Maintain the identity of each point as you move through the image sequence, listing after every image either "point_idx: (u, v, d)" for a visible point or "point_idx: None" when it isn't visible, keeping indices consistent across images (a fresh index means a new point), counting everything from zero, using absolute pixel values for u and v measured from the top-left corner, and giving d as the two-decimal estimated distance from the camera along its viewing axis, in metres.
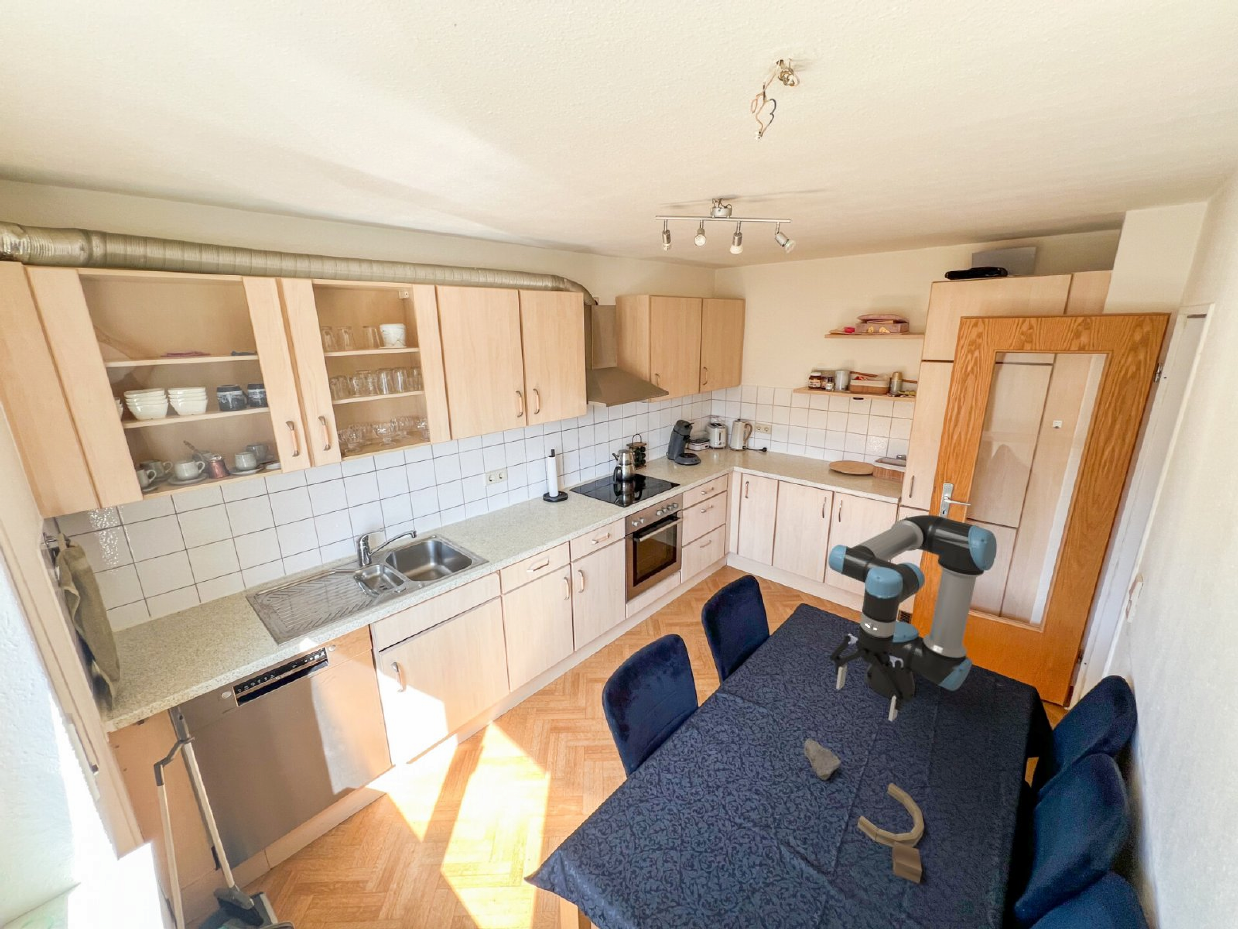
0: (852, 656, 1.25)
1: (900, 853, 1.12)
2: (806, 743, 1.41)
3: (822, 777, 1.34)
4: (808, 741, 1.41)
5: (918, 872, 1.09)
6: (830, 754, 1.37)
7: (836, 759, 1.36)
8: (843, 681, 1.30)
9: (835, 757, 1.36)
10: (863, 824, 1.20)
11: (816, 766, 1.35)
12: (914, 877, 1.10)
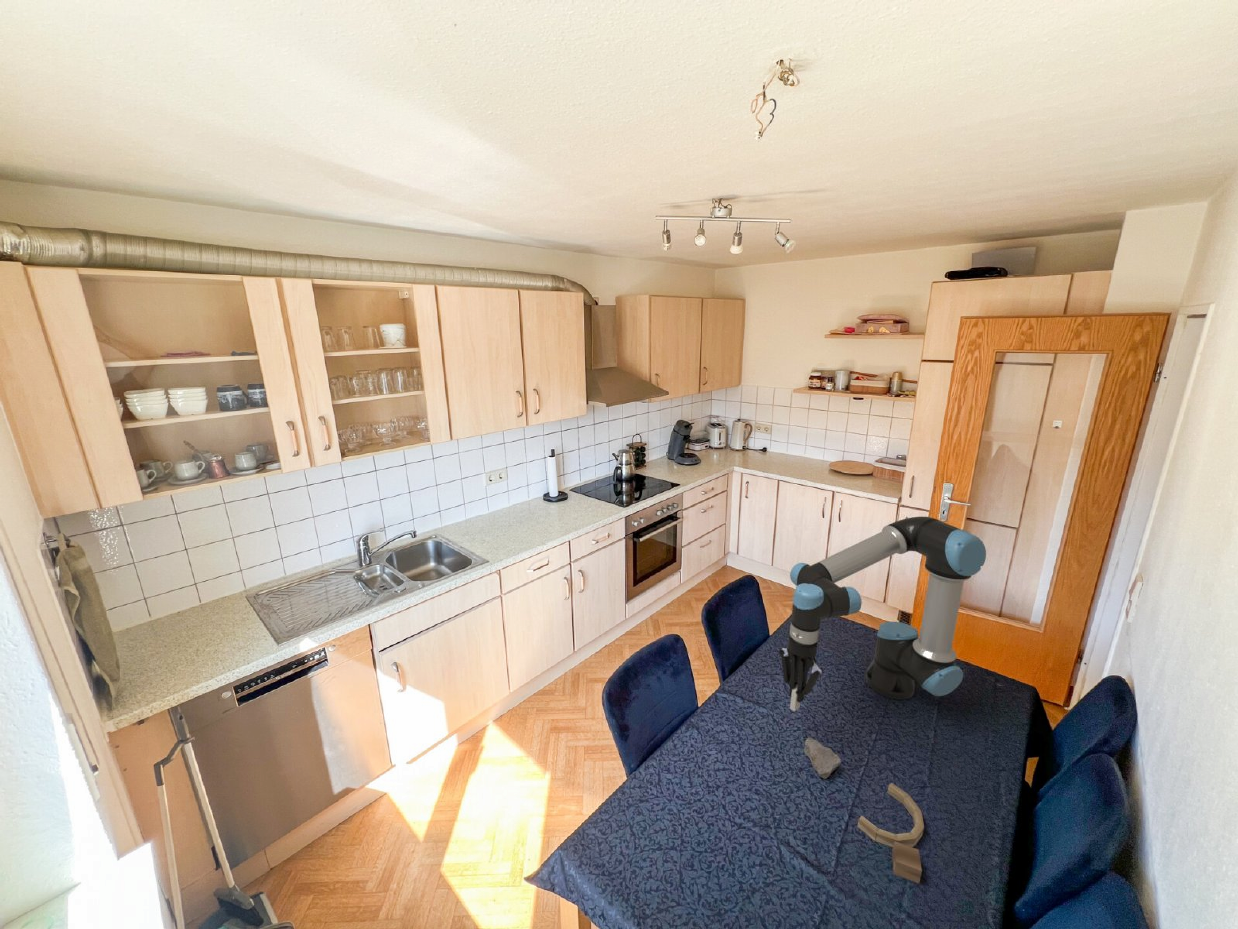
0: (792, 669, 1.40)
1: (900, 853, 1.12)
2: (806, 742, 1.42)
3: (823, 776, 1.35)
4: (808, 740, 1.42)
5: (918, 872, 1.09)
6: (830, 753, 1.38)
7: (836, 758, 1.36)
8: None
9: (835, 756, 1.37)
10: (863, 824, 1.20)
11: (817, 765, 1.36)
12: (914, 877, 1.10)
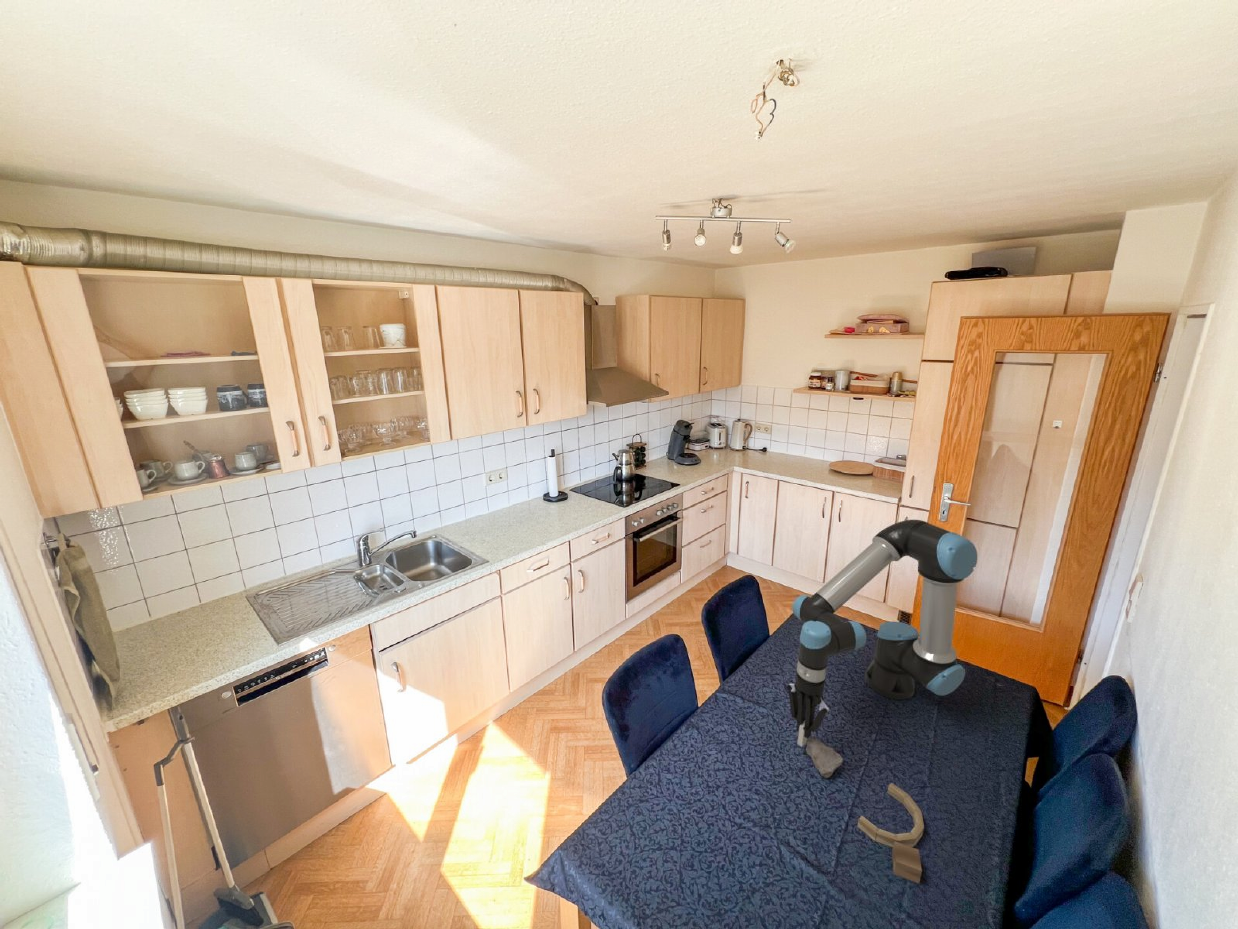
0: (799, 705, 1.40)
1: (900, 853, 1.12)
2: (808, 741, 1.42)
3: (825, 775, 1.35)
4: (810, 739, 1.42)
5: (918, 872, 1.09)
6: (832, 752, 1.38)
7: (838, 757, 1.36)
8: None
9: (837, 755, 1.37)
10: (863, 824, 1.20)
11: (819, 764, 1.36)
12: (914, 877, 1.10)
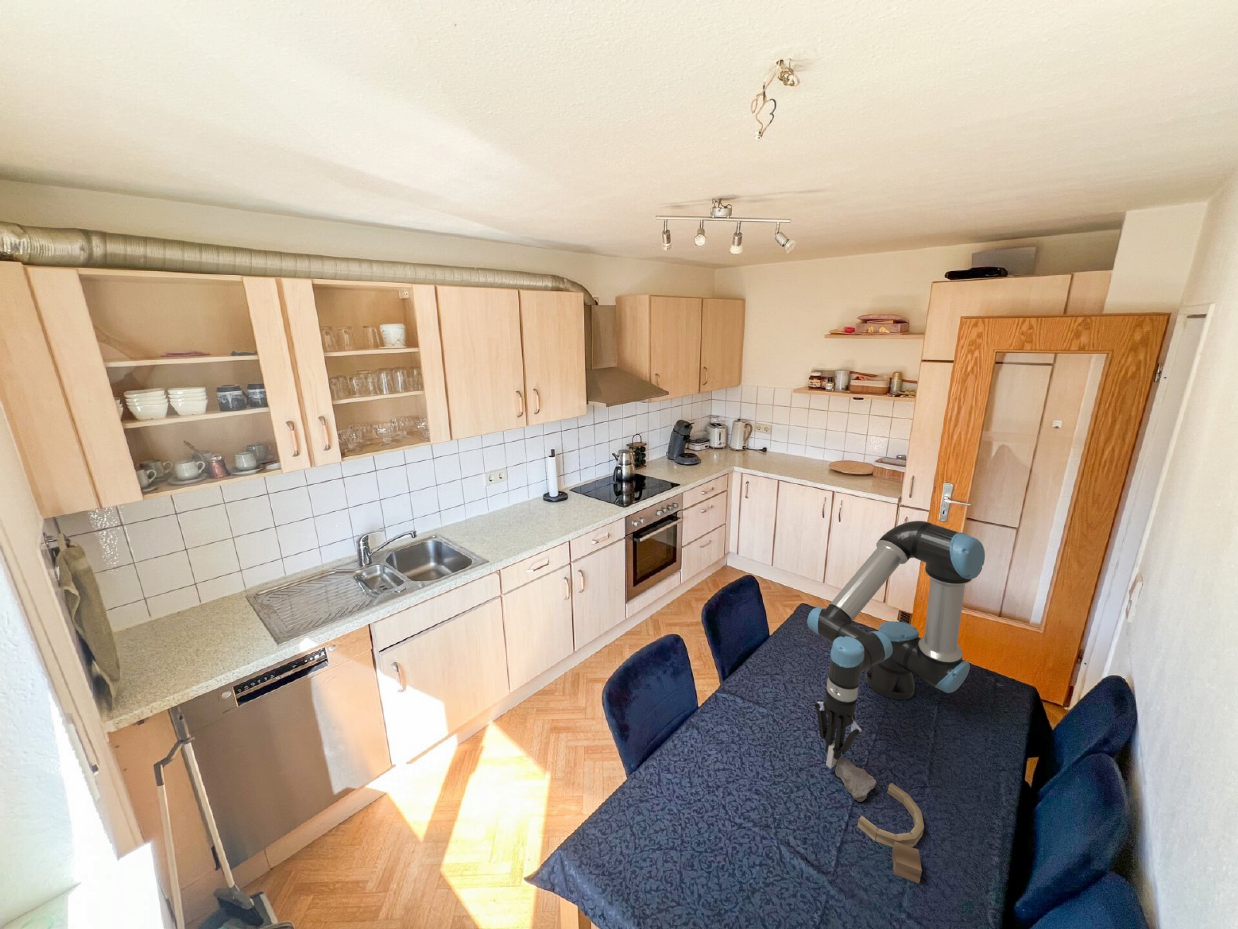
0: (829, 725, 1.33)
1: (900, 853, 1.12)
2: (838, 762, 1.35)
3: (858, 799, 1.28)
4: (840, 760, 1.35)
5: (918, 872, 1.09)
6: (865, 774, 1.31)
7: (871, 779, 1.30)
8: None
9: (870, 777, 1.30)
10: (863, 824, 1.20)
11: (851, 787, 1.29)
12: (914, 877, 1.10)
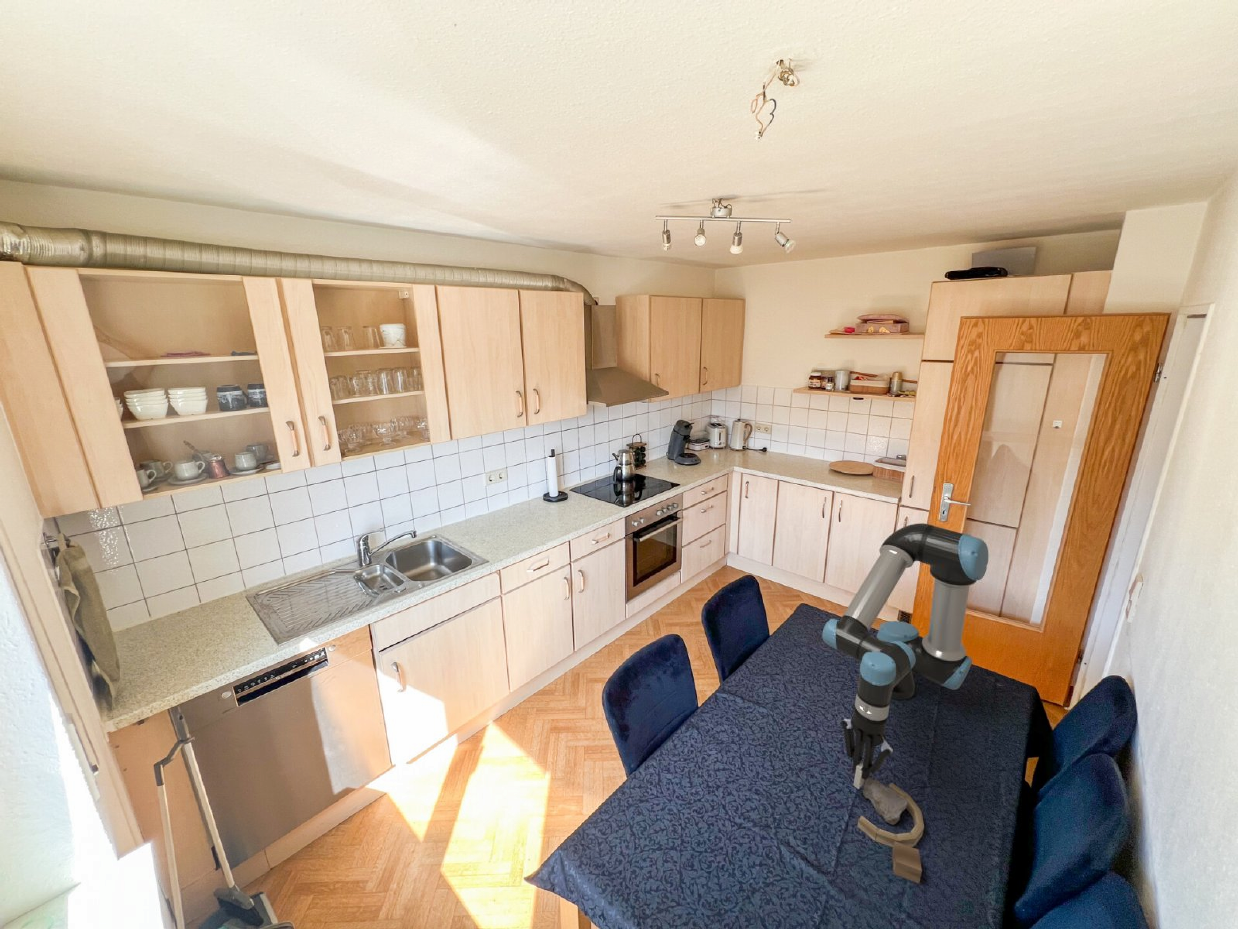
0: (857, 744, 1.27)
1: (900, 853, 1.12)
2: (866, 783, 1.29)
3: (891, 822, 1.22)
4: (868, 780, 1.29)
5: (918, 872, 1.09)
6: (895, 794, 1.25)
7: (903, 799, 1.24)
8: None
9: (901, 797, 1.24)
10: (863, 824, 1.20)
11: (883, 810, 1.23)
12: (914, 877, 1.10)
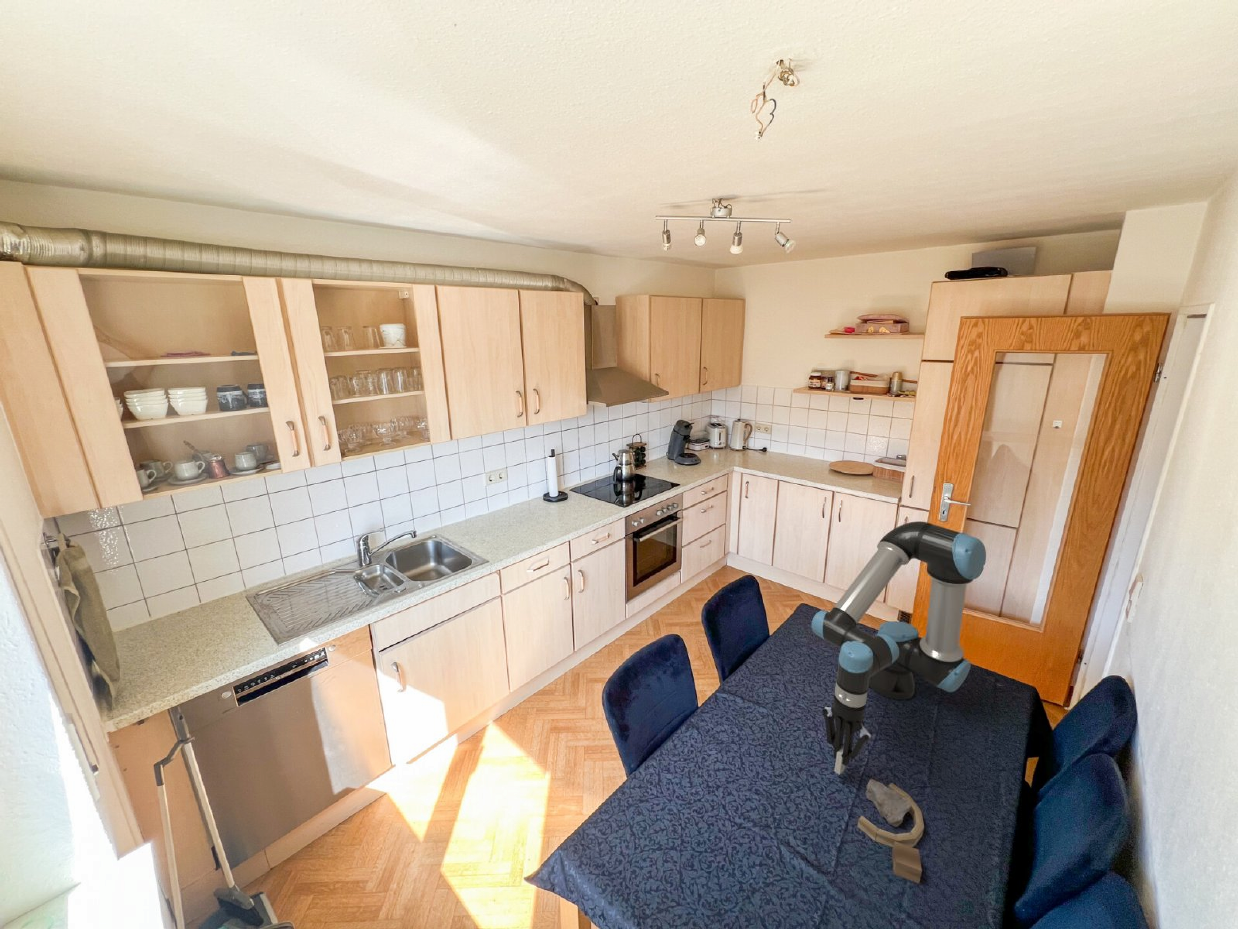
0: (837, 731, 1.31)
1: (900, 853, 1.12)
2: (869, 785, 1.28)
3: (894, 824, 1.21)
4: (871, 782, 1.28)
5: (918, 872, 1.09)
6: (898, 796, 1.25)
7: (906, 801, 1.24)
8: None
9: (904, 799, 1.24)
10: (863, 824, 1.20)
11: (886, 812, 1.22)
12: (914, 877, 1.10)
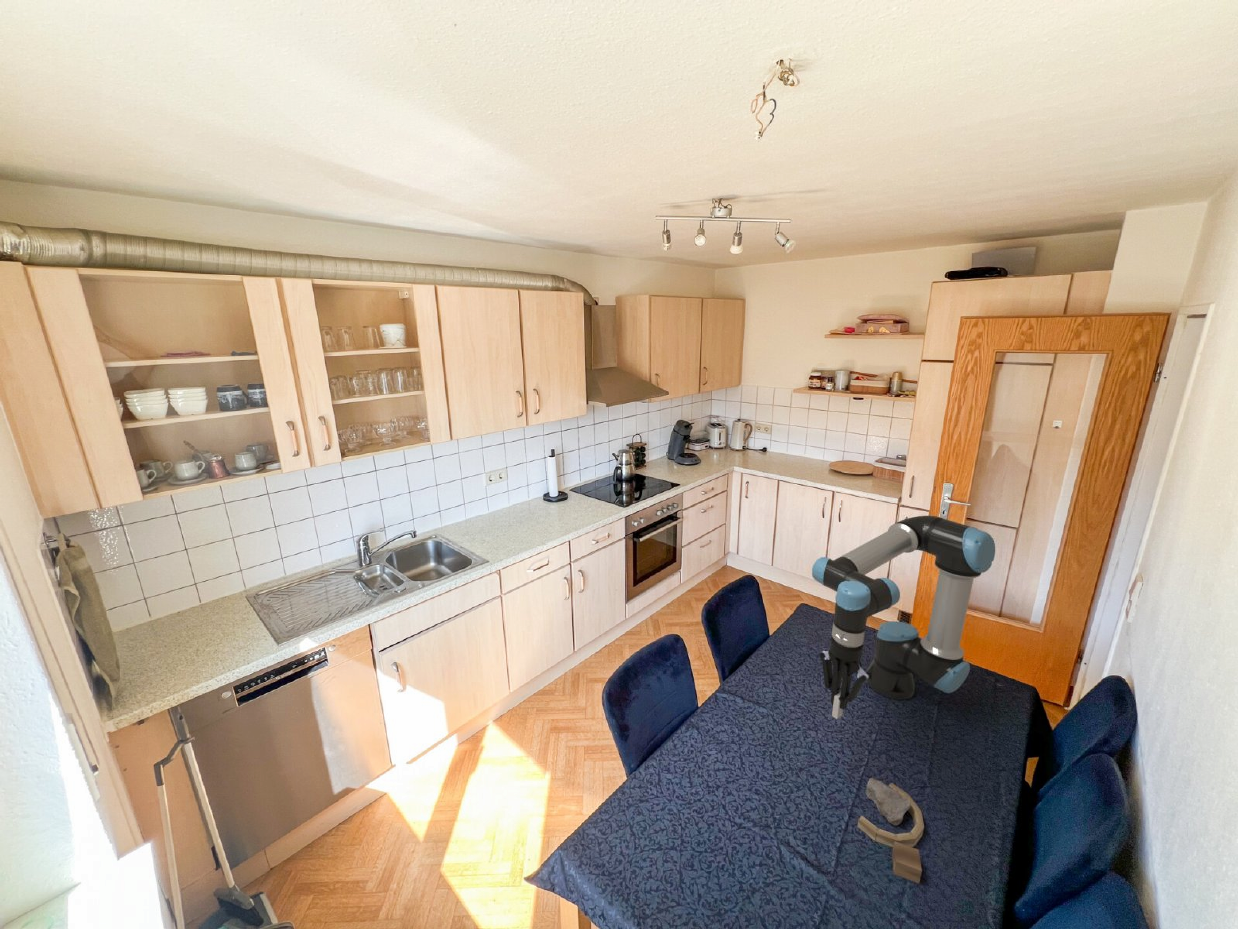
0: (834, 674, 1.29)
1: (900, 853, 1.12)
2: (869, 784, 1.28)
3: (894, 822, 1.22)
4: (871, 781, 1.29)
5: (918, 872, 1.09)
6: (898, 795, 1.25)
7: (906, 800, 1.24)
8: None
9: (904, 798, 1.24)
10: (863, 824, 1.20)
11: (886, 811, 1.23)
12: (914, 877, 1.10)
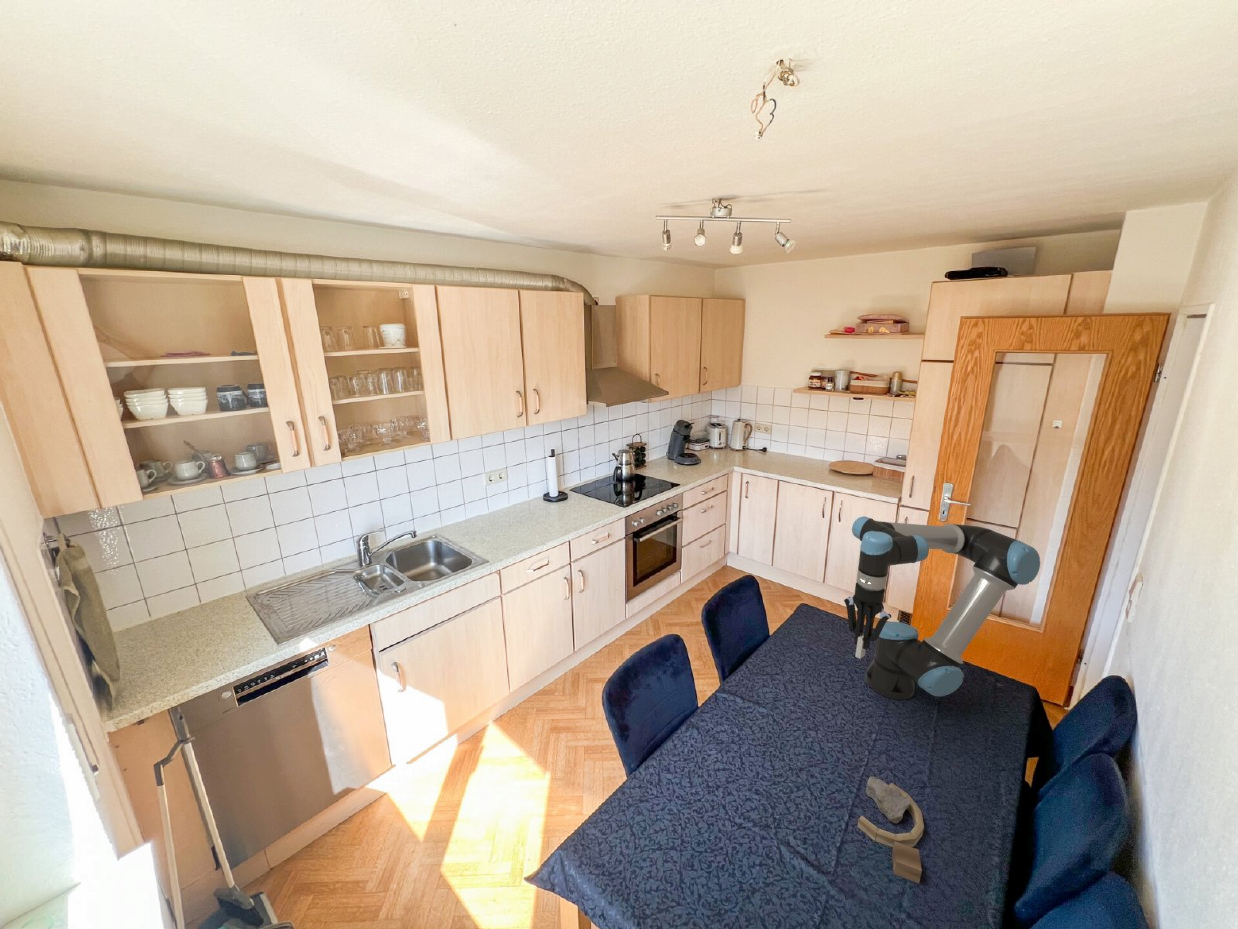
0: (858, 617, 1.42)
1: (900, 853, 1.12)
2: (869, 782, 1.29)
3: (894, 820, 1.22)
4: (871, 779, 1.29)
5: (918, 872, 1.09)
6: (898, 793, 1.26)
7: (906, 798, 1.25)
8: None
9: (904, 796, 1.25)
10: (863, 824, 1.20)
11: (886, 809, 1.23)
12: (914, 877, 1.10)
